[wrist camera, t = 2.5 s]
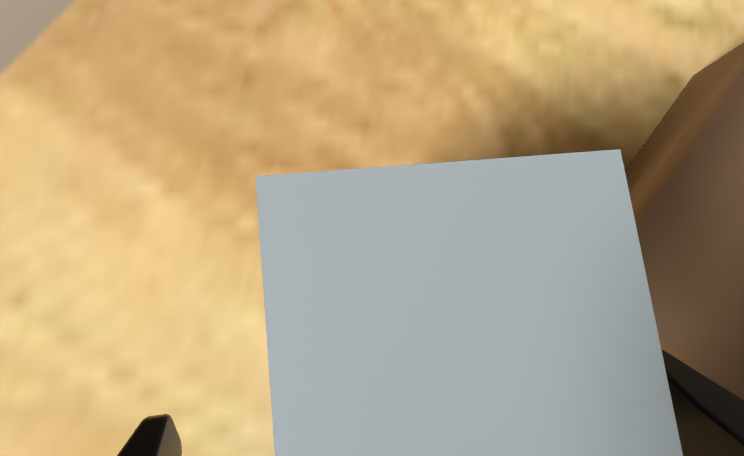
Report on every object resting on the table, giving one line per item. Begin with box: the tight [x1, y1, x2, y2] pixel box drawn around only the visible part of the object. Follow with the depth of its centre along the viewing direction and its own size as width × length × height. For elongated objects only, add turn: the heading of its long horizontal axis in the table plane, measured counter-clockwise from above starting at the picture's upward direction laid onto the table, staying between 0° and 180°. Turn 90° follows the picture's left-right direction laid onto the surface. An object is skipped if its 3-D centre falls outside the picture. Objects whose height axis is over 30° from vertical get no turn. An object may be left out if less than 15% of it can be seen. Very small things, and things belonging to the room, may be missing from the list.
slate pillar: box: [256, 149, 683, 456], centre depth 12 cm, size 5×5×12 cm
